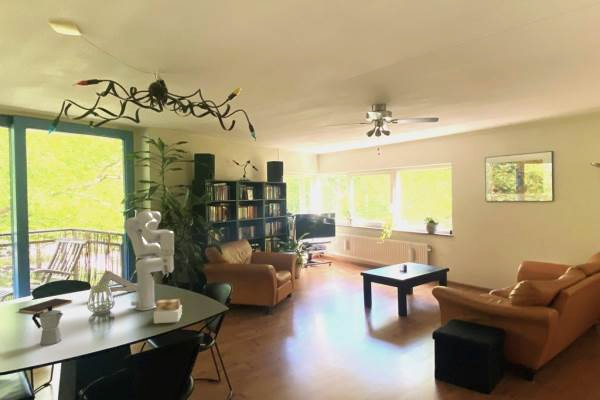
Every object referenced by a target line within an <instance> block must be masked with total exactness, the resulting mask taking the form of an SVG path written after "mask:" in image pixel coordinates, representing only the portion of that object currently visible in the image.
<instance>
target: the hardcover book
mask: <svg viewBox="0 0 600 400" xmlns="http://www.w3.org/2000/svg"><path fill="white" fill-rule="evenodd" d="M70 304H73V300H71V299H64V298H53V299H49V300H46V301H42V302H38V303H36V304H31V305H29V306H26V307H22V308H19V310H18V312H20V313H26V314H27V313H28V314H33V315H34V314H36V313H40V312H41V311H44V312H46V311H48V308H47V306H50V305H53V308H52V310H56V309H57V308H60V307H63V306H66V305H67V306H68V305H70Z"/></svg>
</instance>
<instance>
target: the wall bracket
mask: <svg viewBox="0 0 600 400" xmlns="http://www.w3.org/2000/svg"><path fill="white" fill-rule="evenodd" d="M111 281H112V282H114V283H116V284H117V285H120V286H111V287H110V290H111V293H115V292H127V293H132V294H133V293H134V292H137V293H138V284H135V283H133V282H131V281H130V280H127V279H126V278H124V277H121V276H119V275H118V274H115V273H114V272H112V271H109V270H105V271H104V273H103V274H102V276H101V277H100V280H99V281H98V283H97V285H96V286H98V285H107V286H108V285H109V283H110V282H111Z"/></svg>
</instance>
